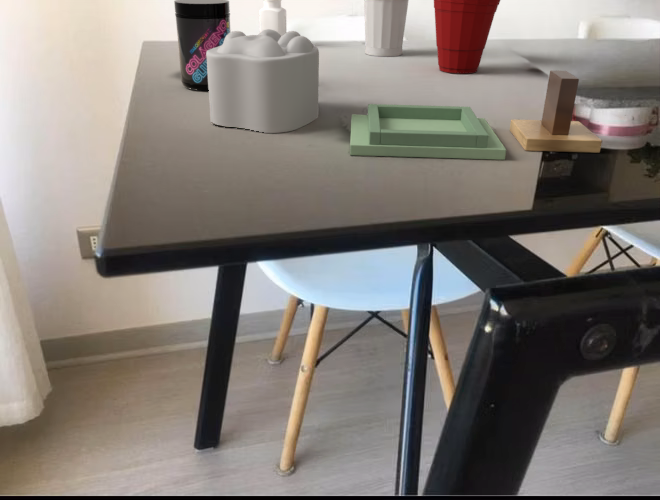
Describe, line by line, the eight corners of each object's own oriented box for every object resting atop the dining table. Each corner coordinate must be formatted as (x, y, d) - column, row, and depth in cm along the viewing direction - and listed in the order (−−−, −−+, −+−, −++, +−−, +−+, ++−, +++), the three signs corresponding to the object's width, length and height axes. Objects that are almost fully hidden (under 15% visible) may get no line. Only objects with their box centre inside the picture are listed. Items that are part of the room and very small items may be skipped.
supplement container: (174, 90, 80) (166, 2, 75) (190, 80, 86) (183, -3, 81) (226, 93, 79) (221, 4, 74) (238, 82, 85) (235, -1, 81)
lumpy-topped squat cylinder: (197, 123, 66) (191, 37, 62) (256, 98, 77) (253, 23, 73) (287, 135, 62) (286, 45, 59) (335, 107, 73) (337, 29, 69)
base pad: (483, 127, 67) (486, 106, 66) (504, 160, 57) (508, 136, 56) (351, 123, 67) (351, 103, 66) (349, 155, 57) (350, 131, 56)
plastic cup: (510, 73, 94) (523, -14, 89) (455, 79, 89) (464, -12, 84) (462, 61, 102) (470, -19, 97) (408, 67, 97) (414, -18, 92)
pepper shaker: (268, 43, 117) (266, -13, 113) (287, 44, 116) (287, -12, 111) (258, 46, 113) (256, -11, 109) (279, 47, 112) (277, -10, 108)
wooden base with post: (577, 132, 65) (589, 68, 63) (600, 153, 59) (615, 83, 56) (509, 130, 66) (518, 66, 63) (525, 150, 59) (536, 81, 57)
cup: (394, 48, 113) (398, -24, 108) (414, 56, 106) (420, -21, 101) (353, 50, 111) (355, -24, 105) (371, 58, 104) (375, -21, 99)
